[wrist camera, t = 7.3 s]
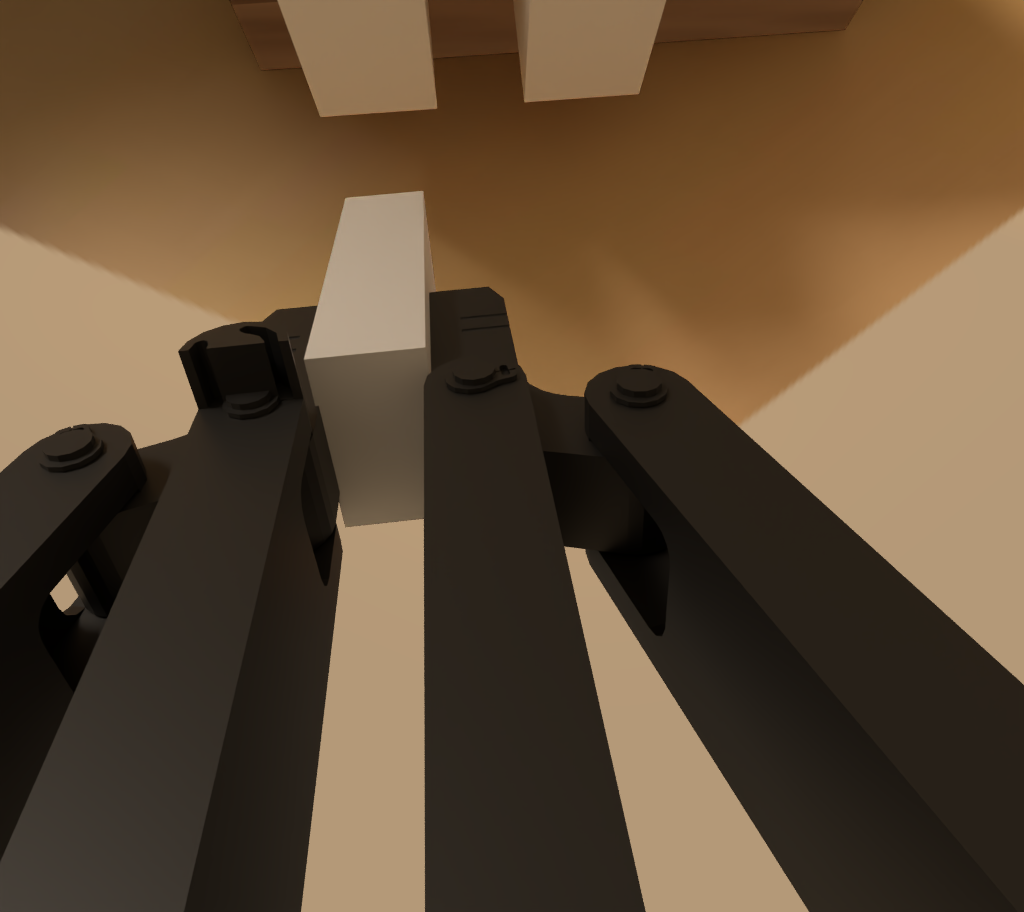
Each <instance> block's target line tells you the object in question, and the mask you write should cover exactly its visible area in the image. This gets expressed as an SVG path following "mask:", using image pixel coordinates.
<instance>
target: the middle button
mask: <svg viewBox="0 0 1024 912" xmlns="http://www.w3.org/2000/svg"><path fill="white" fill-rule="evenodd" d="M513 3H514V12H515V22H516V31H517V40H518V49H519V59H520V68H521V77H522V86H523V96H524V102H536V101H550V100H564V99H577V98H591V97H605V96H619V95H633V94H639V92H640V89H641V85H642V82H643V78H644V75H645V71H646V68H647V65H648V61H649V58H650V54H651V51H652V47H653V44H654V41H655V37H656V34H657V30H658V27H659V23H660V20H661V17H662V13H663V10H664V6H665V3H666V0H513Z"/></svg>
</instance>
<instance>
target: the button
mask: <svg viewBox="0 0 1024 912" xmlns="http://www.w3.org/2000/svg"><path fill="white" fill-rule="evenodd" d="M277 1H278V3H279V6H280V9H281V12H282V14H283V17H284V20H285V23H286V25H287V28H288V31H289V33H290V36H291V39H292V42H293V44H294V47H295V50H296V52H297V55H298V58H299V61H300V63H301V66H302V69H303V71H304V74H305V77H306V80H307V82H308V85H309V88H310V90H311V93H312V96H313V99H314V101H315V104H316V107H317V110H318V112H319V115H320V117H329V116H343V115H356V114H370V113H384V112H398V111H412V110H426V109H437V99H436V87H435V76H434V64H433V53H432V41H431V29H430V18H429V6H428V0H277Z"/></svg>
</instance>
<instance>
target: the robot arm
mask: <svg viewBox="0 0 1024 912" xmlns="http://www.w3.org/2000/svg"><path fill="white" fill-rule="evenodd" d="M178 352H179V355H180V358H181V361H182V364H183V367H184V369H185V372H186V375H187V378H188V381H189V383H190V386H191V389H192V392H193V395H194V398H195V401H196V403H197V406H198V409H199V410H198V412H197V415H196V416H195V419H194V421H193V423H192V426H191V428H190V430H189V432H188V434H187V435H185V436H182V437H179V438H176V439H173V440H169V441H166V442H162V443H159V444H156V445H151V446H148V447H145V448H141V449H137V447H136V445H135V443H134V440H133V438H132V436H131V433H130V432H129V431H127V430H126V429H124V428H123V427H121V426H118V425H113V424H107V423H101V424H82V425H77V426H73V428H71V427H68V428H65V429H62V430H59V431H57V432H56V433H55V434H53V435H51V436H49V437H46V438H44V439H42V440H40V441H39V442H37V443H36V444H34V445H33V446H31V447H30V448H29V449H27V450H26V451H24V452H23V453H22V454H21V455H20V456H18V457H17V458H16V459H15V460H14V461H13V462H12V463H11V464H10V465H8V466H7V467H6V468H5V469H4V470H3V471H2V472H1V473H0V912H301V906H302V898H303V888H304V879H305V872H306V863H307V855H308V846H309V837H310V829H311V820H312V811H313V802H314V794H315V786H316V777H317V768H318V759H319V751H320V742H321V733H322V724H323V716H324V708H325V699H326V691H327V682H328V673H329V665H330V656H331V648H332V639H333V630H334V622H335V613H336V604H337V596H338V587H339V579H340V570H341V561H342V552H343V551H342V545H341V540H340V536H339V532H338V528H337V524H336V517H337V510H338V503H340V507H341V512H342V515H343V520H344V524H345V527H352V526H361V525H370V524H379V523H388V522H398V521H407V520H416V519H424V655H425V656H424V657H425V658H424V666H425V667H424V670H425V672H424V677H425V678H424V679H425V680H424V681H425V683H424V684H425V912H646V911H645V907H644V902H643V898H642V894H641V889H640V884H639V881H638V876H637V871H636V867H635V862H634V858H633V853H632V849H631V844H630V840H629V835H628V831H627V826H626V822H625V817H624V813H623V808H622V804H621V799H620V795H619V790H618V786H617V782H616V777H615V772H614V768H613V763H612V759H611V755H610V750H609V746H608V741H607V737H606V732H605V728H604V723H603V719H602V714H601V710H600V706H599V701H598V696H597V692H596V687H595V683H594V678H593V674H592V669H591V665H590V661H589V656H588V652H587V648H586V643H585V638H584V634H583V629H582V625H581V620H580V616H579V611H578V607H577V603H576V598H575V593H574V589H573V584H572V580H571V575H570V571H569V566H568V562H567V557H566V554H565V548H564V546H566V547H574V548H582V549H586V554H587V558H588V560H589V563H590V565H591V567H592V569H593V570H594V572H595V573H596V575H597V577H598V578H599V579H600V581H601V583H602V584H603V586H604V588H605V589H606V591H607V592H608V594H609V596H610V597H611V599H612V600H613V602H614V603H615V605H616V606H617V608H618V610H619V611H620V613H621V614H622V616H623V618H624V619H625V621H626V622H627V624H628V626H629V627H630V629H631V630H632V632H633V634H634V635H635V637H636V638H637V640H638V641H639V643H640V645H641V646H642V648H643V649H644V651H645V652H646V654H647V656H648V657H649V659H650V660H651V662H652V664H653V665H654V667H655V668H656V670H657V671H658V673H659V675H660V676H661V678H662V679H663V681H664V683H665V684H666V686H667V687H668V689H669V690H670V692H671V694H672V695H673V697H674V698H675V700H676V702H677V703H678V705H679V706H680V708H681V709H682V711H683V712H684V714H685V716H686V717H687V719H688V721H689V722H690V724H691V725H692V727H693V728H694V730H695V732H696V733H697V735H698V736H699V738H700V739H701V741H702V743H703V744H704V746H705V747H706V749H707V751H708V752H709V754H710V755H711V757H712V758H713V760H714V762H715V763H716V765H717V766H718V768H719V770H720V771H721V773H722V774H723V776H724V778H725V779H726V781H727V782H728V784H729V785H730V787H731V789H732V790H733V792H734V793H735V795H736V796H737V798H738V800H739V801H740V802H741V804H742V806H743V807H744V809H745V811H746V812H747V814H748V816H749V817H750V819H751V820H752V822H753V823H754V825H755V827H756V828H757V830H758V831H759V833H760V834H761V836H762V838H763V839H764V841H765V842H766V844H767V846H768V847H769V849H770V850H771V852H772V854H773V855H774V857H775V858H776V860H777V861H778V863H779V865H780V866H781V868H782V869H783V871H784V873H785V874H786V876H787V877H788V879H789V880H790V882H791V884H792V885H793V887H794V888H795V890H796V892H797V893H798V895H799V896H800V898H801V899H802V901H803V902H804V904H805V906H806V907H807V909H808V911H809V912H1024V685H1023V684H1022V683H1021V682H1020V681H1019V680H1018V679H1017V678H1016V677H1014V676H1013V675H1012V674H1011V673H1010V672H1009V671H1008V670H1007V669H1006V668H1004V667H1003V666H1002V665H1001V664H1000V663H999V662H998V661H997V660H996V659H995V658H993V657H992V656H991V655H990V654H989V653H988V652H987V651H986V650H985V649H984V648H982V647H981V646H980V645H979V644H978V643H977V642H976V641H975V640H974V639H972V638H971V637H970V636H969V635H968V634H967V633H966V632H965V631H964V630H962V629H961V628H960V627H959V626H958V625H957V624H956V623H955V622H953V620H951V619H950V618H949V617H948V616H947V615H946V614H945V613H944V612H943V611H942V610H940V609H939V608H938V607H937V606H936V605H935V604H934V603H933V602H932V601H931V600H929V599H928V598H927V597H926V596H925V595H924V594H923V593H922V592H920V591H919V590H918V589H917V588H916V587H915V586H914V585H913V584H912V583H911V582H910V581H908V580H907V579H906V578H905V577H904V576H903V575H902V574H901V573H899V572H898V571H897V570H896V569H895V568H894V567H893V566H892V565H891V564H890V563H889V562H887V561H886V560H885V559H884V558H883V557H882V556H881V555H880V554H879V553H877V552H876V551H875V550H874V549H873V548H872V547H871V546H870V545H869V544H868V543H866V542H865V541H864V540H863V539H862V538H861V537H860V536H859V535H858V534H856V533H855V532H854V531H853V530H852V529H851V528H850V527H849V526H848V525H847V524H845V523H844V522H843V521H842V520H841V519H840V518H839V517H838V516H837V515H835V514H834V513H833V512H832V511H831V510H830V509H829V508H828V507H827V506H826V505H824V504H823V503H822V502H821V501H820V500H819V499H818V498H817V497H816V496H814V495H813V494H812V493H811V492H810V491H809V490H808V489H807V488H806V487H805V486H803V485H802V484H801V483H800V482H799V481H798V480H797V479H796V478H795V477H793V476H792V475H791V474H790V473H789V472H788V471H787V470H786V469H785V468H784V467H782V466H781V465H780V464H779V463H778V462H777V461H776V460H775V459H774V458H772V457H771V456H770V455H769V454H768V453H767V452H766V451H765V450H764V449H763V448H761V447H760V446H759V445H758V444H757V443H756V442H754V440H753V439H751V438H750V437H749V436H748V435H747V434H746V433H745V432H744V431H743V430H741V429H740V428H739V427H738V426H737V425H736V424H735V423H734V422H733V421H732V420H731V419H729V418H728V417H727V416H726V415H725V414H724V413H723V412H722V411H721V410H719V409H718V408H717V407H716V406H715V405H714V404H713V403H712V402H711V401H710V400H708V399H707V398H706V397H705V396H704V395H703V394H702V393H701V392H700V391H698V390H697V389H696V388H695V387H694V386H693V385H692V384H691V383H690V382H689V381H687V380H686V379H684V378H683V377H681V376H679V375H678V374H676V373H675V372H673V371H669V370H665V369H662V368H658V367H655V366H651V365H644V366H641V365H629V366H624V367H616V368H613V369H610V370H607V371H605V372H602V373H599V374H598V375H597V376H595V377H594V378H593V379H592V380H590V381H589V382H588V384H587V387H586V390H585V393H584V397H577V396H566V395H559V394H553V393H550V392H546V391H543V390H540V389H538V388H536V387H534V386H532V385H530V384H529V383H528V382H527V378H526V375H525V373H524V372H523V370H522V368H521V367H520V366H519V365H518V362H517V358H516V353H515V349H514V344H513V339H512V335H511V330H510V327H509V321H508V316H507V312H506V307H505V303H504V298H503V297H501V296H500V295H499V294H497V293H496V292H495V291H493V290H492V289H491V288H489V287H481V288H471V289H461V290H450V291H440V292H436V287H435V279H434V271H433V263H432V255H431V248H430V240H429V232H428V224H427V216H426V208H425V200H424V192H423V191H415V192H404V193H393V194H382V195H371V196H360V197H349V198H345V202H344V206H343V210H342V214H341V217H340V221H339V225H338V229H337V233H336V237H335V241H334V245H333V248H332V252H331V256H330V260H329V264H328V268H327V272H326V276H325V279H324V283H323V287H322V291H321V295H320V299H319V303H318V306H310V307H300V308H290V309H280V310H276V311H275V312H273V313H272V314H271V315H270V316H269V317H267V318H266V319H265V320H264V321H263V322H241V323H236V324H230V325H225V326H221V327H218V328H215V329H212V330H209V331H206V332H203V333H201V334H200V335H198V336H196V337H194V338H193V339H191V340H189V341H188V342H187V343H186V344H185V345H184V346H183V347H182V348H181V349H180V350H179V351H178ZM66 574H67V576H68V577H69V579H70V581H71V582H72V585H73V586H74V588H75V590H76V592H77V594H78V595H79V596H78V598H77V599H76V600H75V601H74V603H73V604H72V605H71V606H70V607H69V608H68V609H66V610H65V611H64V612H62V611H61V610H60V609H59V608H58V607H57V605H56V603H55V602H54V600H53V598H52V596H51V595H50V592H51V591H52V590H53V589H54V587H55V586H56V585H57V584H58V583H59V582H60V580H61V579H62V578H63V577H64V576H65V575H66Z"/></svg>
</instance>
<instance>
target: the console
mask: <svg viewBox="0 0 1024 912" xmlns="http://www.w3.org/2000/svg"><path fill="white" fill-rule="evenodd" d="M862 1H863V0H666V3H665V6H664V10H663V13H662V17H661V20H660V23H659V27H658V30H657V34H656V37H655V41H654V43H659V42H673V41H688V40H702V39H716V38H731V37H745V36H759V35H774V34H788V33H802V32H817V31H831V30H845V29H846V27H847V25H848V24H849V22H850V21H851V19H852V17H853V16H854V14H855V13H856V11H857V9H858V8H859V6H860V5H861V3H862ZM230 2H231V5H232V7H233V9H234V11H235V14H236V16H237V18H238V20H239V22H240V25H241V27H242V29H243V31H244V34H245V36H246V38H247V40H248V43H249V45H250V47H251V49H252V51H253V54H254V56H255V58H256V60H257V63H258V65H259V67H260V69H261V70H271V69H286V68H300V67H302V66H301V63H300V61H299V58H298V55H297V52H296V50H295V47H294V44H293V42H292V39H291V36H290V33H289V31H288V28H287V25H286V23H285V20H284V17H283V14H282V12H281V9H280V6H279V3H278V1H277V0H230ZM428 6H429V18H430V29H431V41H432V53H433V58H444V57H458V56H472V55H487V54H501V53H515V52H519V49H518V40H517V31H516V22H515V12H514V3H513V0H428Z"/></svg>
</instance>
